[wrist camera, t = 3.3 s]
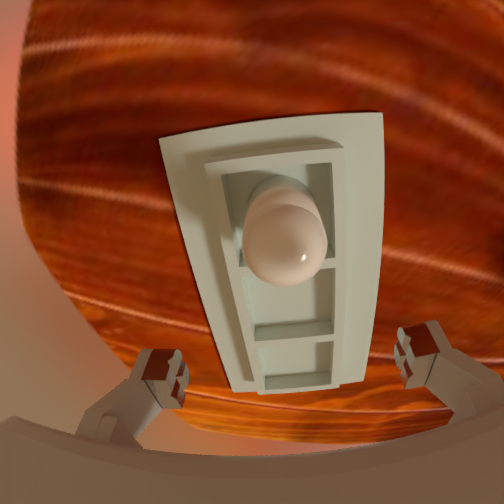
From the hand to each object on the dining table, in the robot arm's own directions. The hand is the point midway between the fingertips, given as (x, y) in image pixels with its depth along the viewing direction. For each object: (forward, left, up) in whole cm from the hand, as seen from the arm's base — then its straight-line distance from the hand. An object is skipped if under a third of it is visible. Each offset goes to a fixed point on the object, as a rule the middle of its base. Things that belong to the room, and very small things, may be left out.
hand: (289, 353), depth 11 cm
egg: (-1, 0, -11) cm, 11 cm away
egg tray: (+6, 0, -12) cm, 13 cm away
